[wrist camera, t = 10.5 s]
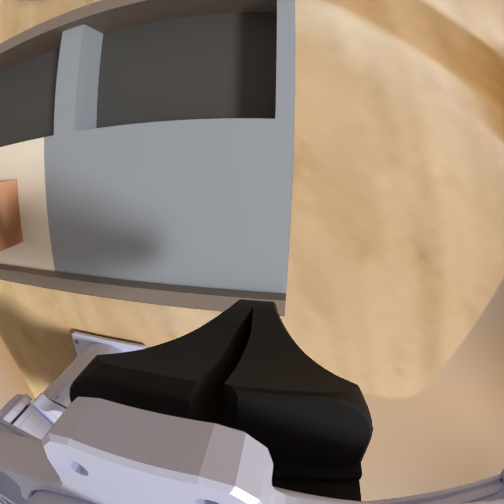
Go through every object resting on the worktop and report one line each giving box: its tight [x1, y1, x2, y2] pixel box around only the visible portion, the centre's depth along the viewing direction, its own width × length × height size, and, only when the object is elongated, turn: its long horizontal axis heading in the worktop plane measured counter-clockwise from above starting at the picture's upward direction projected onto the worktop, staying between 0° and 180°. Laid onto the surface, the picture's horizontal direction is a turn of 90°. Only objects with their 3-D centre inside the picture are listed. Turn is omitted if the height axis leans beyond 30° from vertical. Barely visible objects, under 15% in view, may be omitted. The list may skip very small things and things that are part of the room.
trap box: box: [0, 0, 295, 316], centre depth 19 cm, size 20×30×4 cm, turn 89°
